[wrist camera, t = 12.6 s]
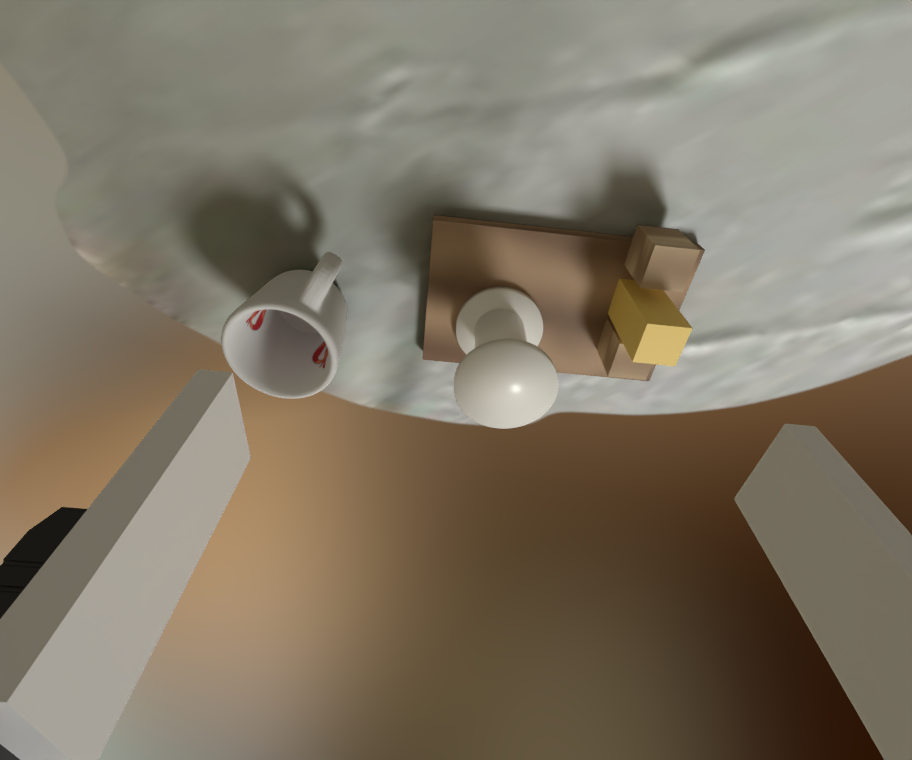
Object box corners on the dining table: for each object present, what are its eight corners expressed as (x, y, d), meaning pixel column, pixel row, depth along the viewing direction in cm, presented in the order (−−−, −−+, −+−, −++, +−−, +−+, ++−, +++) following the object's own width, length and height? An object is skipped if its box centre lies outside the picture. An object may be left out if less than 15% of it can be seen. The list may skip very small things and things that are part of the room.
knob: (461, 282, 37) (459, 340, 30) (550, 291, 37) (569, 350, 30) (452, 357, 41) (449, 423, 34) (532, 365, 41) (546, 432, 34)
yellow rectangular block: (619, 278, 36) (647, 323, 31) (657, 282, 37) (692, 328, 31) (607, 313, 38) (632, 362, 33) (644, 317, 38) (675, 366, 33)
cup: (297, 204, 35) (259, 244, 28) (392, 263, 37) (377, 312, 31) (246, 312, 40) (204, 366, 34) (332, 358, 43) (308, 416, 36)
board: (435, 197, 34) (431, 220, 30) (705, 227, 35) (737, 254, 31) (423, 351, 42) (418, 387, 38) (644, 373, 43) (664, 410, 39)
